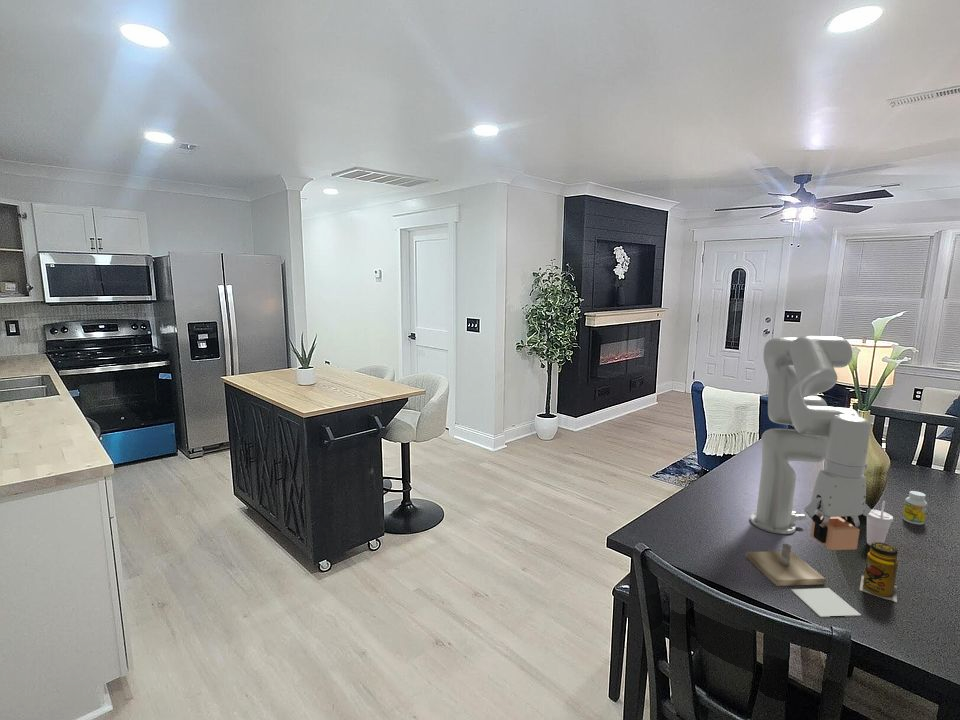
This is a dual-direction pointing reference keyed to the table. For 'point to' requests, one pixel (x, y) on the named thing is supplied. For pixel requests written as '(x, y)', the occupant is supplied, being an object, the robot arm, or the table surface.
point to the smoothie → (878, 525)
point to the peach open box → (839, 534)
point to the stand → (785, 567)
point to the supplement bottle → (915, 508)
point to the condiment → (881, 571)
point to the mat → (825, 602)
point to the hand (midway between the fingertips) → (833, 539)
